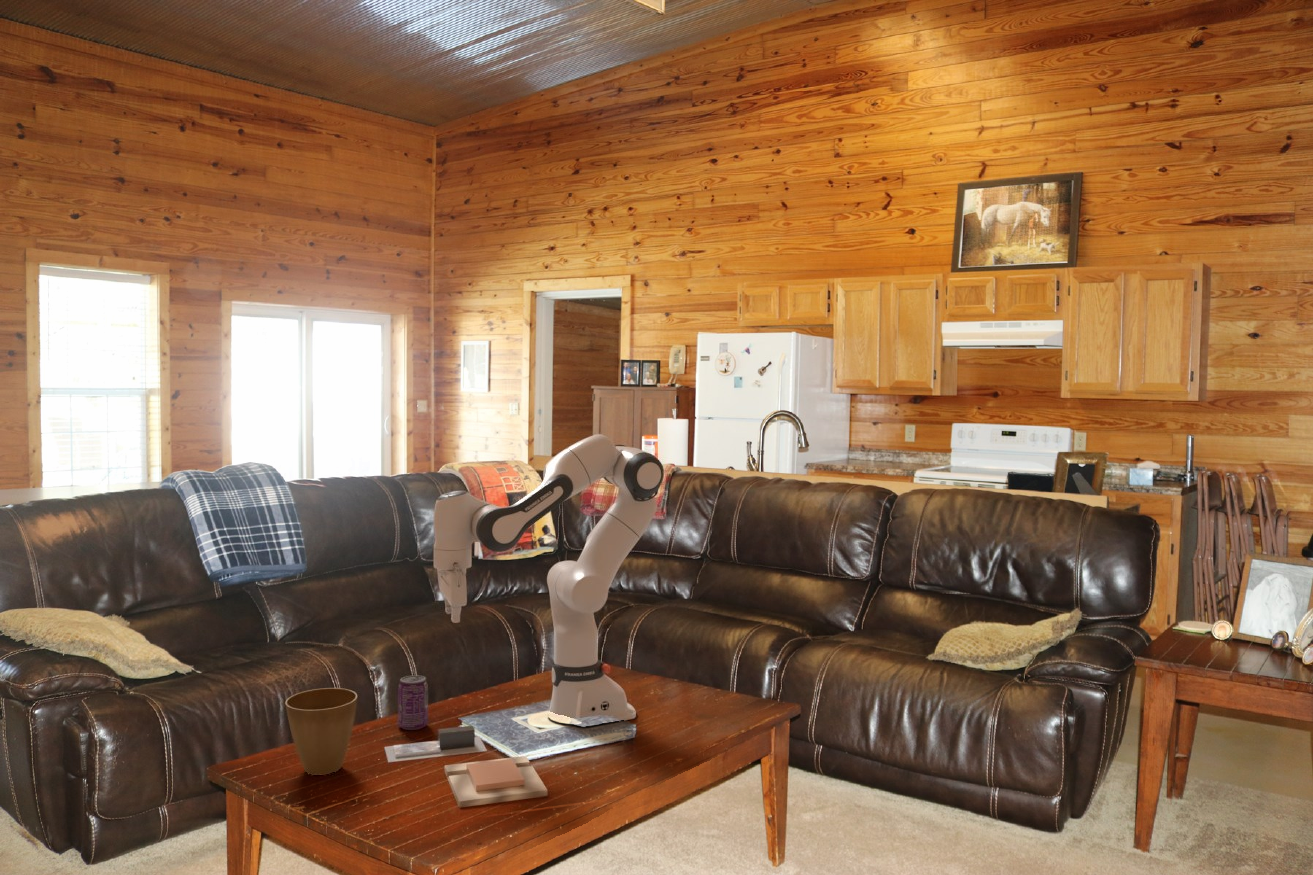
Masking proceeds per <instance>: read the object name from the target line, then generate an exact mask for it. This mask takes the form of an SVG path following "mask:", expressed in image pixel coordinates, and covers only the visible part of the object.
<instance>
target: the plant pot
mask: <svg viewBox="0 0 1313 875" xmlns="http://www.w3.org/2000/svg"><path fill="white" fill-rule="evenodd" d="M357 701H358V694H357V692H356V691H353V690H352V689H347V688H343V687H342V688H341V687H325V688H317V689H316V688H315V689H310V690H305V691H301V692H298V693H295V694H293V695H290V697H288V698H286V700H285V702H284V703H285V708H286V714H287V720H288V724H289V729H290V733H291V737H292V740H293V743H294V746H295V749H296V752H297V755H298V757H299V760H300V763H301V766H302V767H303V769H304V771H305V773H306V772H307V773H309V774H317V775H318V774H329V775H331V774H330V773H332V772H335V773H337V772H338V770H339V769H340V770H341V769H342V766H343V763H344V760H345V758H346V755H347V751H348V747H349V744H350V740H351V736H352V732H353V728H354V722H355V716H356V709H357ZM340 770H339V771H340ZM336 771H337V772H336ZM307 773H306V774H307ZM309 774H308V775H309ZM332 774H333V773H332Z"/></svg>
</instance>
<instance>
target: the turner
mask: <svg viewBox="0 0 1313 875" xmlns="http://www.w3.org/2000/svg"><path fill="white" fill-rule="evenodd" d="M475 731H476V730H475V728H474V726H473V725H467V726H466V725H465V726H456V727H447V728H438V729H437V740H432V741H422V742H413V743H404V744H394V745H392V746H393V750H394V754H395V758H400V757H409V756H418V755H427V754H435V753H441V750H450V749H459V748H468V747H475V737H476V735H475V734H476V733H475ZM437 741H438V742H437Z"/></svg>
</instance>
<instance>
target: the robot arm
mask: <svg viewBox="0 0 1313 875" xmlns="http://www.w3.org/2000/svg"><path fill="white" fill-rule="evenodd" d="M542 473H543V474H542V478H543V479H542V481H541V483H540V485H538V487H536V488H535V489H534V490H532V491H531V492H530V493H528V494H527V495H525V496H524V497H522V498H521V499H520V500H519V501H516V502H515V503H514V504H512V505H510V506H509V505H508V506H503V507H501V506H499V505H497V504H493V503H491V502H487V501H485V500H482V499H480V498H478V497H476V496H474V495H472V494H471V493H469V491H468V490H467V491H466V490H452V491H448V492H444V493H443V494H441V495H440V496H438V498H437V499H436V501H435V505H434V512H433V532H434V537H435V539H434V543H433V568H434V569H435V570H437V571H436V572H437V573H436V574H437V582H438V588H439V591H440V592H441V594H442V595H443V596H444V597H443V598H444V604H445V613H446V614H447V615H451V619H450V620H451V622H452V623H454V624H455V623H456V624H458V623H460V622H461V614H462V613H461V612H462V607H465V606H467V603H468V593H467V591H468V590H467V577H466V576H467V575H466V574H467V569H469V568H471V567H472V564H473V563H472V562H473V561H472V553H473V552H472V547H473V546H472V545H473V544H474V543H480V544H482V545H483V546H484V547H485V548H486V549H487V550H489V551H492V552H496V553H497V552H498V553H501V552H502V553H503V552H507V551H509V550H511V549H512V548H514V547H515V546H516V545H517V544H518V543H519V542H520V540H521V539H522V537H523V536H524V535H525V533H526V531H527V530H528V529H529V528H531V526H533V525H534V524H536V523H537V522H538V521H539V520H541V519H542V518H543V517H544V516H546V515H548V514H549V513H550V512H552V511H553V510H554V509H555V508H556V509H557V507H559V505H561V504H563V503H564V502H565V501H567V500H568V499H570V498H572V497H574V496H576V495H577V494H579V493H581V492H582V491H584V490H585V489H587V488H588V487H590V486H592V485H593V484H594V483H596V482H597V481H598V480H601V479H604V480H605V481H606V482H607V483H608V484H611V485H614V486H615V487H616V488H618V490H617V495H616V497H615V500H614V503H613V504H612V505H610V507H609V508H608V509H607V510H606V511H605V513H604V515H602V517H601V518H600V520H599V521H598V522H597V523H596V525H595V526H594V527H593V528H592V530H591V531H590V532H589V533H588V535H587V537H586V539H585V544H584V547H583V549H582V551H581V552H580V555H579V557H578V559H577V560H576V561H575V560H563V561H558V562H556V563H555V564H554V565H552V567H551V568H550V569H549V570H548V573H547V576H546V583H547V587H548V592H549V602H550V610H551V617H552V624H553V644H554V645H553V646H554V648H553V650H554V651H553V654H554V655H553V656H554V657H553V661H552V668H551V681H552V693H551V700H550V705H549V709H548V712H549V711H550V712H553V713H555V714H558V715H564V716H567V717H570V718H583V717H588V716H595V715H610V716H613V717H614V718H618V719H621V720H624V721H628V720H633V719H635V718H636V717H637V711H636V709H635V708H634V706H633V705H632V704H630V703H629V702H628V701H627V695H626V692H625V690H624V689H623V688H622V686H621V685H620V684H618V683H617V682H616V681H614V680H613V679H612V678H611V677H609V676H607V675H606V674H609V673H610V672H611V666H610V664H608V663H605V662H603V661H601V660H599V659H598V658H599V657H598V652H599V651H598V649H599V648H598V646H599V645H598V642H599V641H598V640H599V639H598V638H599V631H598V627H597V623H596V621H595V619H596V618H595V614H594V613H596V612H598V611H600V610H601V609H602V608H604V606H605V604H606V603H607V600H608V598H609V597H608V596H609V590H610V587H611V586H612V583H613V581H614V579H615V577H616V575H617V572H618V571H619V569H620V567H621V565H622V564H623V562H624V561H625V559H626V558H627V556H628V555H629V553H630V552H631V551H632V549H634V547H635V546H636V544H637V543H638V541H640V539H641V537H642V536H643V535H644V534H645V532H646V531H647V529H648V527H649V526H650V523H651V522H652V521H653V518H654V516H655V514H656V512H657V509H658V503H657V499H656V498H655V497H656V496H657V495H658V493H659V489H660V487H661V485H662V483H663V481H664V474H665V470H664V466H663V464H662V462H661V461H660V459H658V458H657V457H656V456H655V455H654V454H652V453H650V452H647V451H645V450H642V449H641V448H638V447H632V446H627V445H623V444H615V443H614V441H613V440H611V438H609V437H608V436H606V435H604V434H601V433H598V434H597V433H595V434H594V435H590V436H588V437H586V438H583V439H581V440H579V441H577V442H575V443H573V444H571V445H570V446H567V447H566V448H565V449H563V450H562V451H560V452H558V453H557V454H556V455H554V456H553V457H552V458H551V459H550V460H549V461H548V462H547V463H546V464H545V466H544V468H543V472H542Z"/></svg>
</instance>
